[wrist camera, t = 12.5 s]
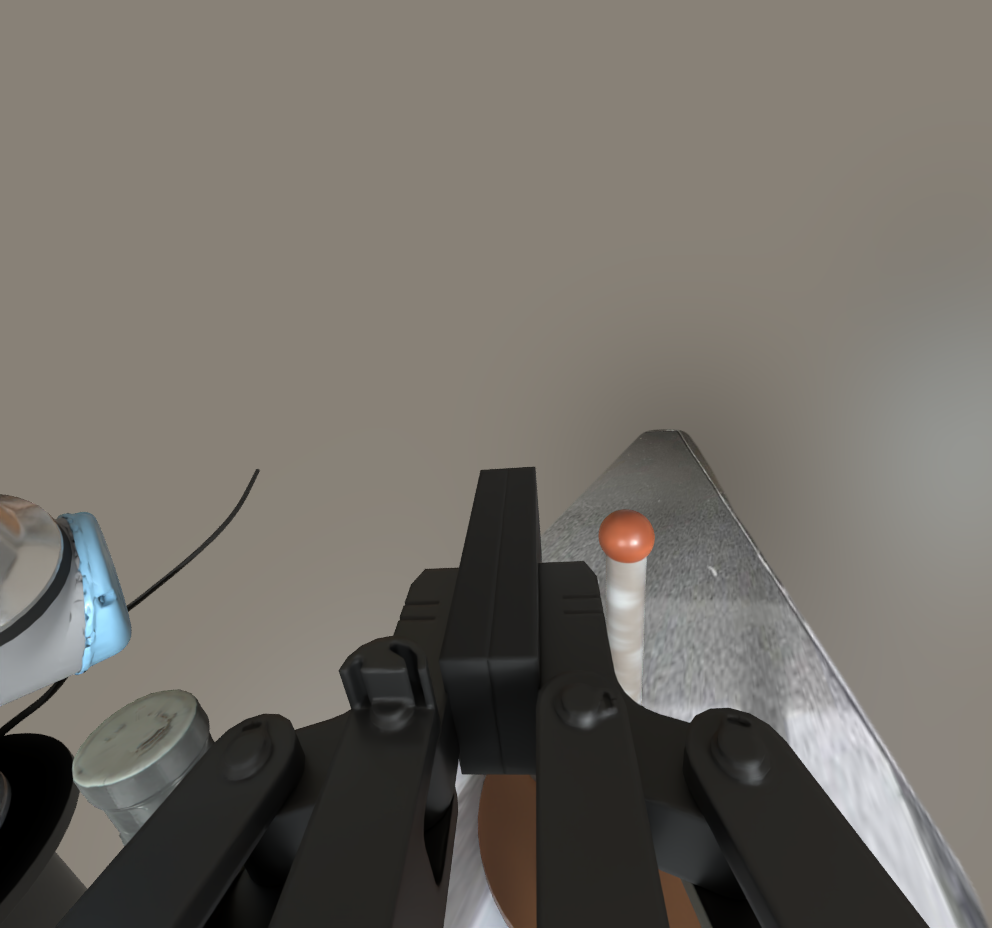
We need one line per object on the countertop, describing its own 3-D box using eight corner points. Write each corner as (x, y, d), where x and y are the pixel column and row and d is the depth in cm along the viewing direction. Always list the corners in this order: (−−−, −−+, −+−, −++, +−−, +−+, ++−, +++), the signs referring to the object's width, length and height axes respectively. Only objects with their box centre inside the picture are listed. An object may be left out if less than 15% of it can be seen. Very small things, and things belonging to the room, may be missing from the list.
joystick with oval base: (493, 1034, 23) (430, 788, 15) (471, 727, 37) (433, 520, 29) (815, 966, 24) (916, 700, 16) (671, 692, 38) (686, 483, 30)
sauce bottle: (372, 1001, 25) (249, 750, 16) (243, 1125, 22) (10, 893, 13) (329, 882, 30) (218, 643, 21) (219, 969, 27) (38, 728, 18)
